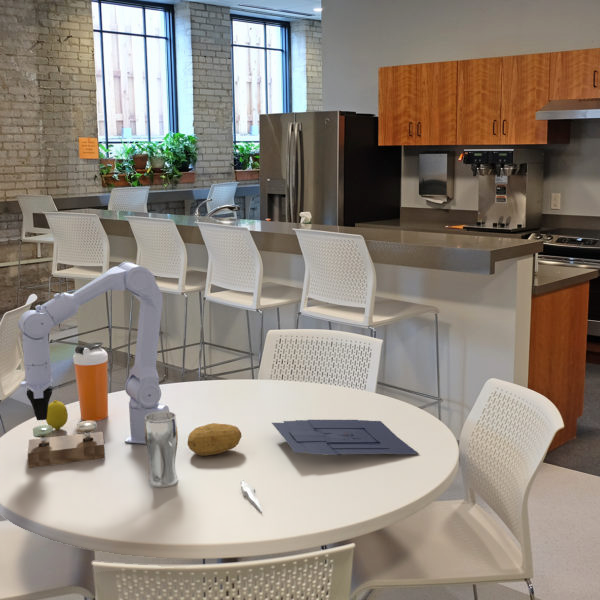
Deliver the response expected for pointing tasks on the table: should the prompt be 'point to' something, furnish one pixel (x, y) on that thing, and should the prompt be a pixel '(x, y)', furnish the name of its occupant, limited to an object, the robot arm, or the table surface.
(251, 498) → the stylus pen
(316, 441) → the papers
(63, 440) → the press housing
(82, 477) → the table surface
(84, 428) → the silver knob
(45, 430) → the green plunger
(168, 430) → the beer glass
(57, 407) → the lemon
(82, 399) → the shaker bottle
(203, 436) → the potato
